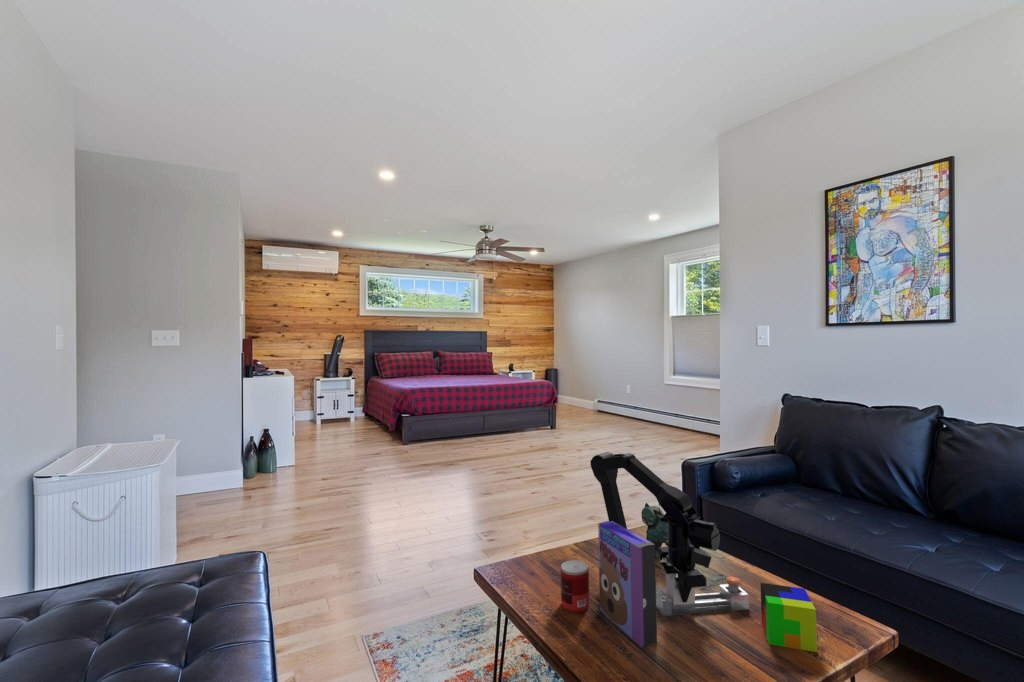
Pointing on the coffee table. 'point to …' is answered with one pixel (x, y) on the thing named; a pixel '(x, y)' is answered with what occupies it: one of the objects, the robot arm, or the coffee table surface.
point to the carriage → (677, 591)
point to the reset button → (733, 584)
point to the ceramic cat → (655, 526)
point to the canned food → (574, 586)
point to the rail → (704, 602)
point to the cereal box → (628, 582)
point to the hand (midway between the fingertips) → (680, 596)
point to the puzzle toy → (788, 617)
